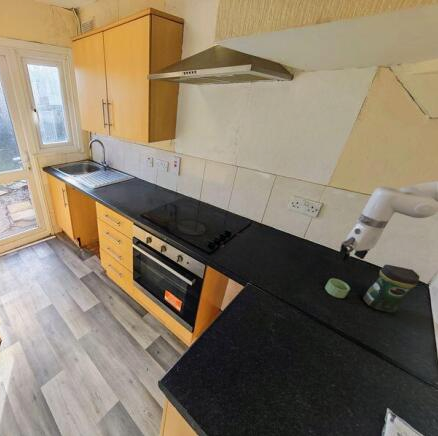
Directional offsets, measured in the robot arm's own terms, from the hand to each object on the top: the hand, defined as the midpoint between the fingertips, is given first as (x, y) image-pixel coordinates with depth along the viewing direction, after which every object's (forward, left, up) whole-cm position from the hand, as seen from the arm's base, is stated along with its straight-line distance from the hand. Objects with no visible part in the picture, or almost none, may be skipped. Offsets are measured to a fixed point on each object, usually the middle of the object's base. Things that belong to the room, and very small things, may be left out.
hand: (349, 258), depth 90 cm
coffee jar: (-11, +11, -17) cm, 23 cm away
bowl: (0, +2, -17) cm, 17 cm away
